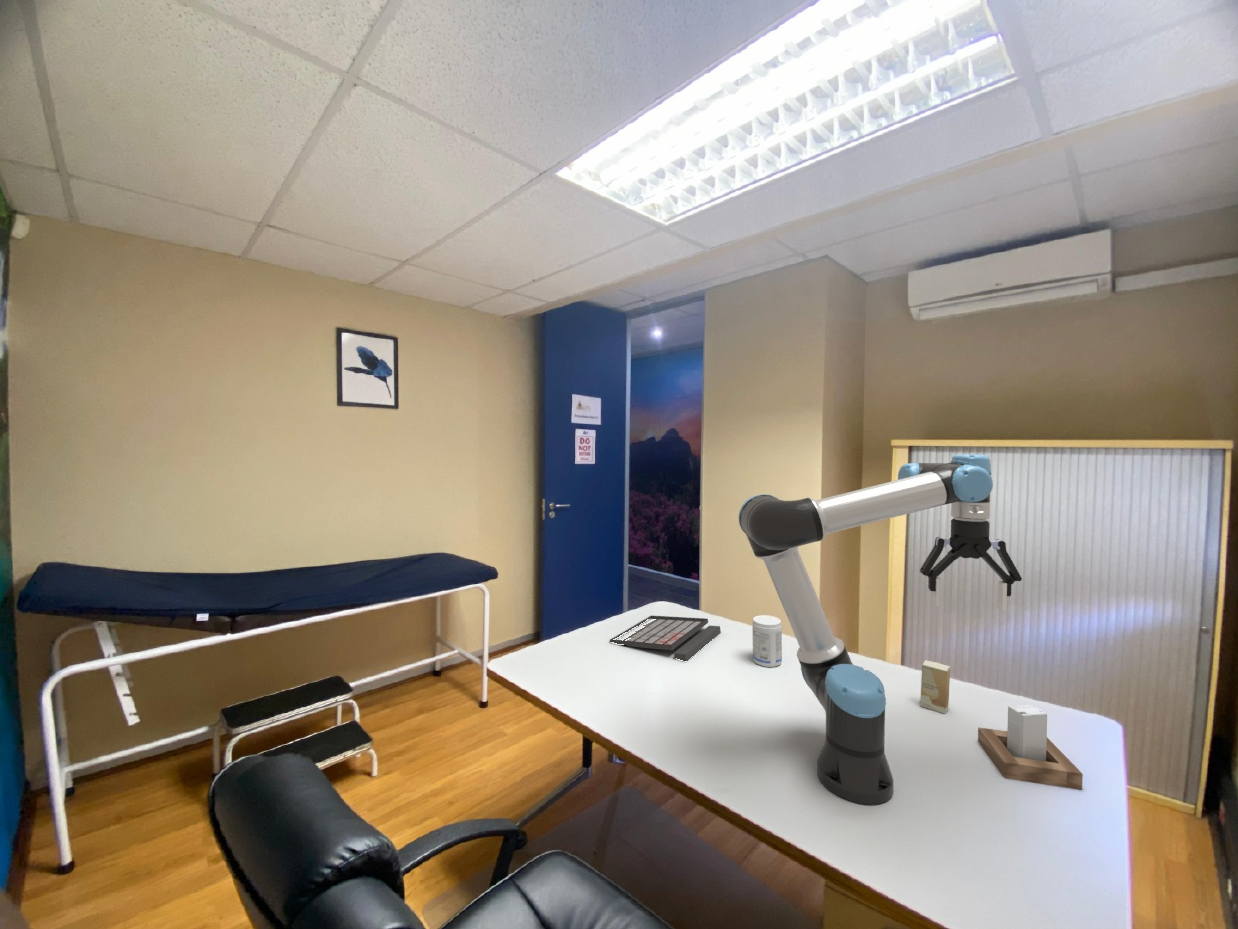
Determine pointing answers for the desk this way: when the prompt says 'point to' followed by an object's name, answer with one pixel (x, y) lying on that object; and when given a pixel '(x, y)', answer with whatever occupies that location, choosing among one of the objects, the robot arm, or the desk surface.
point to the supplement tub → (767, 641)
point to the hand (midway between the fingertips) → (968, 607)
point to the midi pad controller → (672, 635)
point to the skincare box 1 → (935, 686)
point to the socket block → (1030, 762)
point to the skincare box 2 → (1027, 732)
